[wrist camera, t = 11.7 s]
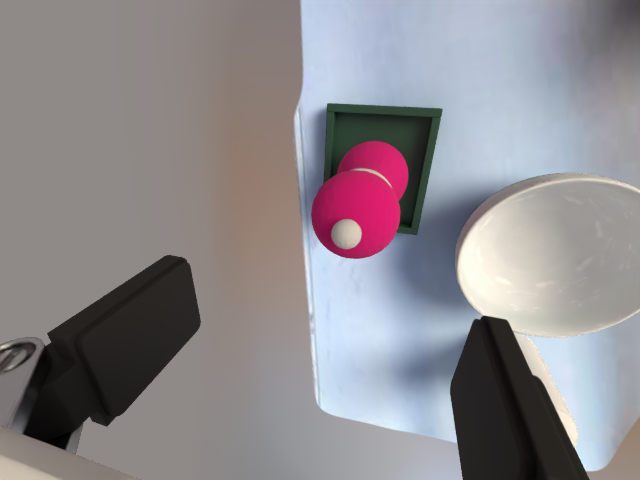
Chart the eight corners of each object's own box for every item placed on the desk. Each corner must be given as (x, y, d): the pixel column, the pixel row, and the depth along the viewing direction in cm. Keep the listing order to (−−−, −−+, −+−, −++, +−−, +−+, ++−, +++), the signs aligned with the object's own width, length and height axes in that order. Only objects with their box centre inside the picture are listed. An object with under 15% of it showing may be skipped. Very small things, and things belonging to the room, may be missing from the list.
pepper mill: (340, 142, 33) (269, 184, 16) (405, 131, 31) (406, 166, 14) (349, 202, 36) (297, 294, 19) (410, 196, 34) (415, 294, 16)
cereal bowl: (650, 158, 27) (722, 173, 21) (599, 303, 34) (642, 348, 28) (454, 166, 32) (465, 181, 26) (442, 293, 39) (449, 329, 32)
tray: (331, 103, 33) (327, 103, 31) (440, 108, 30) (442, 108, 28) (325, 216, 38) (321, 222, 37) (416, 228, 36) (416, 235, 34)
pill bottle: (464, 331, 40) (492, 441, 27) (531, 324, 37) (600, 444, 24) (474, 373, 43) (505, 493, 30) (539, 370, 40) (605, 502, 27)
